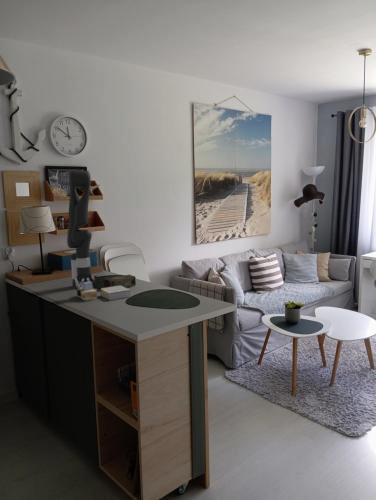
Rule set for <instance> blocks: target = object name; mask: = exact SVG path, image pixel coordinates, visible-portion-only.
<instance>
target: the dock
mask: <svg viewBox="0 0 376 500" xmlns="http://www.w3.org/2000/svg"><path fill="white" fill-rule="evenodd" d="M100 296H101V297H103V298H105V299H106V300H109V301H114V300H119V299H126V298H131V289H130V288H128V287H123V286H121V285H120V286H114V287H107V288H103V287H102V288H101V287H100Z"/></svg>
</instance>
